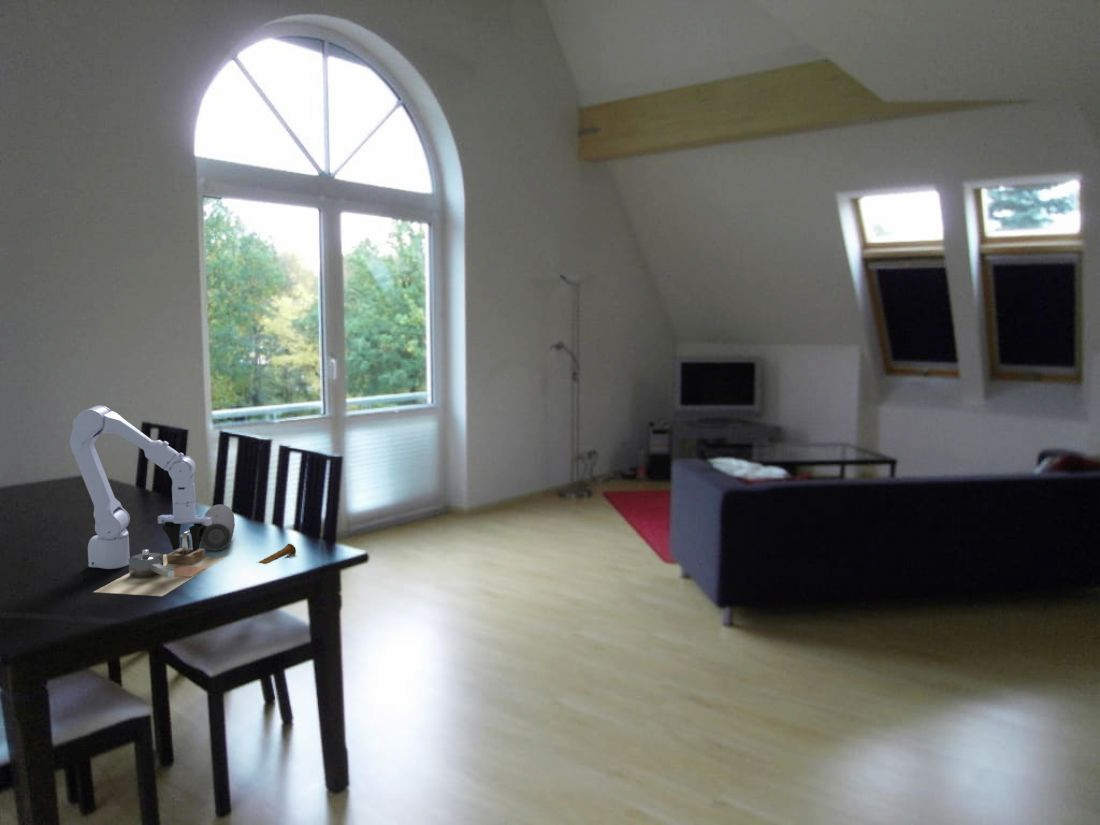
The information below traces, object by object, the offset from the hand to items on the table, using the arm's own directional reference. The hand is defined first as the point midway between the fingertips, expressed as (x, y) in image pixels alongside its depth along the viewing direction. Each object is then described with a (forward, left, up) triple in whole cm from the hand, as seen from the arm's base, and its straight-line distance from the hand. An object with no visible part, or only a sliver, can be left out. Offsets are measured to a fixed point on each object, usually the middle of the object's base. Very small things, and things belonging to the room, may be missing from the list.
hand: (186, 549), depth 218 cm
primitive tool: (+22, +4, -5) cm, 23 cm away
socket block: (0, 0, -3) cm, 3 cm away
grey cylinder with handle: (0, -14, -3) cm, 15 cm away
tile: (+5, -9, -3) cm, 11 cm away
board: (0, -11, -4) cm, 12 cm away
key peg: (0, 0, -3) cm, 3 cm away
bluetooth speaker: (-1, +19, -4) cm, 20 cm away
